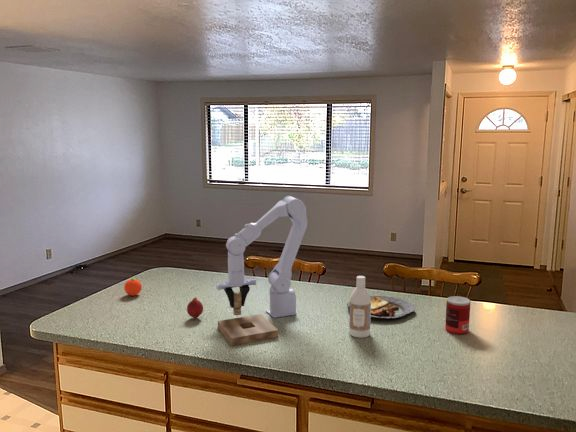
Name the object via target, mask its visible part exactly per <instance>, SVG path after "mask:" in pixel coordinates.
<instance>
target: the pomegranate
mask: <svg viewBox="0 0 576 432" xmlns="http://www.w3.org/2000/svg"><path fill="white" fill-rule="evenodd" d="M186 312H187V314H188V315H189V317H191V318H194V319H195V318H196V319H197V318H199V317H200V316H201V315H202V313H203V312H204V305H203V304H202V302H201V301H200V300H199V299H198V298H197V297H196V296H194V297H193V298H192V300H191V301H189V302H188V304H187V307H186Z"/></svg>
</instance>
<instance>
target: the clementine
mask: <svg viewBox="0 0 576 432" xmlns="http://www.w3.org/2000/svg"><path fill="white" fill-rule="evenodd" d="M142 285H143V284H142V282H141V281H139V280H138V278H130V279H128V280H127V281H126V282H125V283H124V291H125V293H126V294H127V295H129V296H138V295H139V294H140V293H141V291H142Z"/></svg>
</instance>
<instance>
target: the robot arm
mask: <svg viewBox="0 0 576 432" xmlns="http://www.w3.org/2000/svg"><path fill="white" fill-rule="evenodd" d="M307 209H308V208H307V207H306V204H305V203H304V202H303V200H301V199H300V198H296V197H294V196H292V195H287V196H285V197H283V198H282V199H280V200H279V201H277V202H276V204H275V205H273V206H272V208H271V209H269V210H268V211H267V212H266V213H265V214H263V215H262V216H261V218H259V219H258V220H257V221H256V222H250V223H246V224H244V227H243V228H241V230H240V231H238V233H237V232H236V233H234V235H233V236H230V237H229V238H228V239H227V241H226V243H225V248H226V249H227V275H228V278H227V279H228V280H227V281H223V282H220V283H216V286H215V287H216V288H215V289H216V290H217V291H221V290H223V291H224V292H225V295H226V296H227V299H228V303H229V306H230V308H231V309H233V308H234V302H233V296H234V292H235V291H234V290H233V289H234V288H239V292H241V293H242V307H244V306H245V303H246V299H247V297H248V294H249V292H250V289H251V288H250V286H257V279H255V278H245V258H244V253H245V251H246V247H248V246H249V245H251V243H253V242H254V241H255V240H256V239H258V238H259V237H260V236H261V235H262V230H263V229H265V228H267V226H269V225H270V224H272V223H273V222H274V221H276V220H277V219H278V218H281V217H283V218H285V217H289V219H290V221H291V223H292V224H291V227H290V231H289V232H288V236H287V238H286V241H285V244H284V246H283V249H282V253H281V255H280V257H279V260H278V263H276V265H274V267H273V269H272V270H271V272H270V273H269V274H268V278H267V279H268V280H267V281H268V283H269V284H270V288H269V309H266V310H265V312H266V313H268V314H269V315H270V316H271V317H272V318H273V319H276V318H277V319H278V318H282V317H287V316H294V315H297V294H296V291H295V290H294V289H293V288H291V284H292V282H291V281H292V279H291V278H292V276H293V275H292V268H293V265H294V262H295V259H296V257H297V254H298V252H299V249H300V247H301V243H302V240H303V239H304V236H305V234H306V233H305V232H306V230H307V228H308V223H309V222H308V216H307Z"/></svg>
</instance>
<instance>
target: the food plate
mask: <svg viewBox="0 0 576 432" xmlns="http://www.w3.org/2000/svg"><path fill="white" fill-rule="evenodd" d="M370 298H371V318H376V319H384V320H386V319H387V320H390V319H399V318H403V317H404V316H406V315H408V314H410V313H411V312H413V313H414V312H415V307H414V305H413V304H412V303H410V302H408V301H407V300H404V299H402V298H398V297H394V296H389V295H388V296H386V295H378V294H377V295H370ZM347 308H348V310H350V300H349V301H348V302H347ZM398 310H400V311H398Z"/></svg>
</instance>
